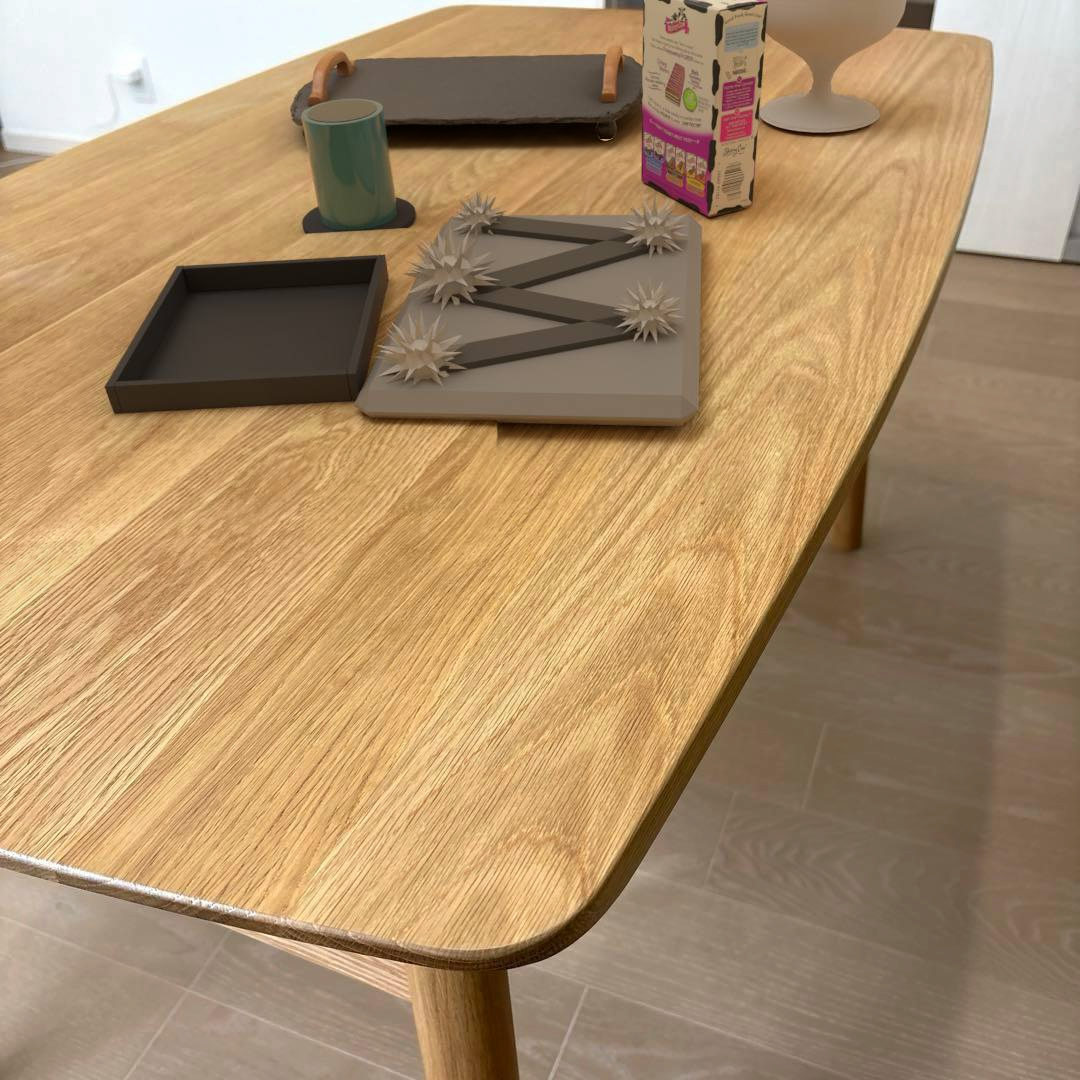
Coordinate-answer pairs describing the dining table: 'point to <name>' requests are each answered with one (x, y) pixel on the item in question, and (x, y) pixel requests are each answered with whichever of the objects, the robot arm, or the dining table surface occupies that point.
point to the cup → (350, 163)
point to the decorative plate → (547, 322)
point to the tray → (254, 336)
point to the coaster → (401, 220)
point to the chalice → (826, 58)
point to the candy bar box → (702, 100)
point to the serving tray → (483, 88)
